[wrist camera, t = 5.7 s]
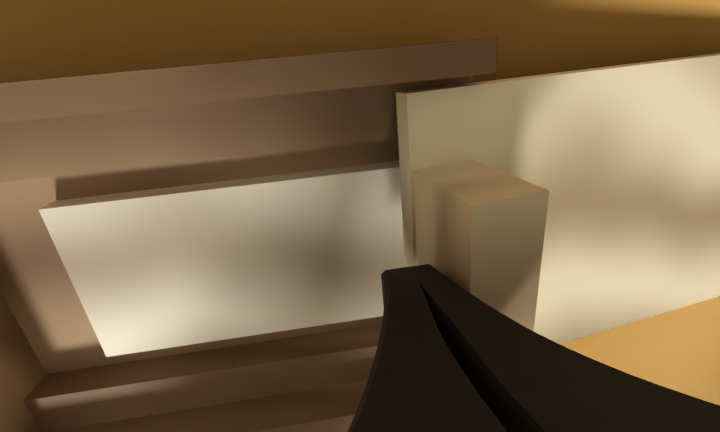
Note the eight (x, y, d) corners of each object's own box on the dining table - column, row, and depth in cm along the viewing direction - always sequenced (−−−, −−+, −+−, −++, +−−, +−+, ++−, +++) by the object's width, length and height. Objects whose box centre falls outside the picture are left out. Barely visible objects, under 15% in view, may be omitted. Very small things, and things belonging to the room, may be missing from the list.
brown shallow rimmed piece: (448, 348, 16) (478, 409, 14) (54, 409, 15) (-8, 492, 12) (450, 44, 12) (497, 37, 9) (-124, 97, 10) (-297, 110, 7)
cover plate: (713, 282, 17) (830, 335, 13) (410, 370, 14) (461, 469, 10) (792, 43, 13) (983, 33, 10) (395, 92, 10) (470, 101, 7)
